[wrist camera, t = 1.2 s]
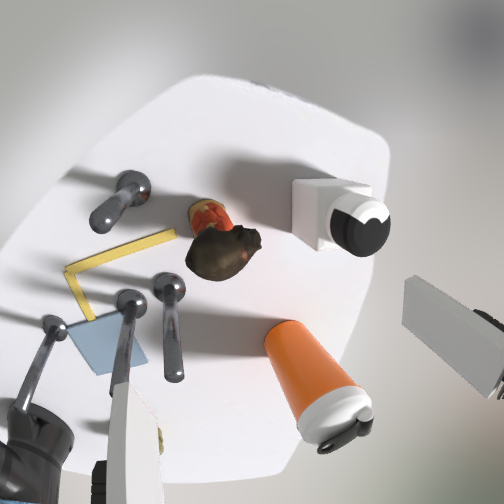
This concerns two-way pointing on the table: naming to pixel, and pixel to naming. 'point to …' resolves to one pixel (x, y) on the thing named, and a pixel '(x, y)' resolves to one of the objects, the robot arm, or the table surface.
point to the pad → (103, 343)
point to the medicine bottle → (338, 216)
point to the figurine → (218, 242)
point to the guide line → (108, 257)
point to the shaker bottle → (317, 389)
